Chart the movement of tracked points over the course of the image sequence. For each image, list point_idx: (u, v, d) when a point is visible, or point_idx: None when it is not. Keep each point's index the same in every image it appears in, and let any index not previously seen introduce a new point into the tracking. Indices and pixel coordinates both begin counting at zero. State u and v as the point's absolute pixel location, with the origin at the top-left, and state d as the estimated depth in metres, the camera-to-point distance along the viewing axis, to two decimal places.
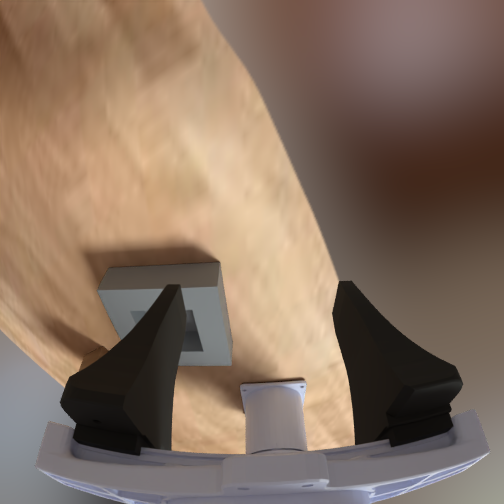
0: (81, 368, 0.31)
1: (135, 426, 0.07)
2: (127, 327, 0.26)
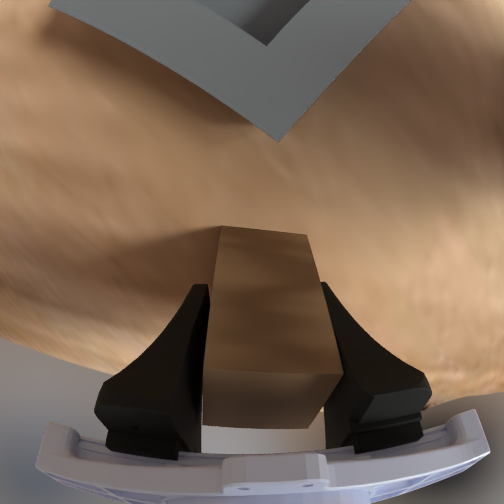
0: None
1: (176, 430, 0.07)
2: (160, 14, 0.07)
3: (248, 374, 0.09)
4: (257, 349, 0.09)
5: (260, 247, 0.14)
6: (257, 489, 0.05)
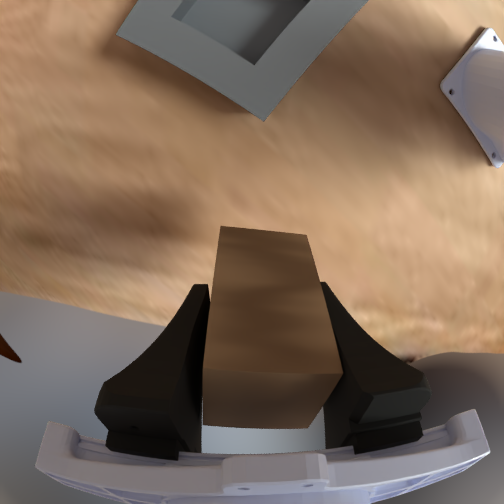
0: None
1: (176, 430, 0.07)
2: (191, 46, 0.14)
3: (248, 374, 0.09)
4: (257, 349, 0.09)
5: (260, 247, 0.14)
6: (257, 489, 0.05)
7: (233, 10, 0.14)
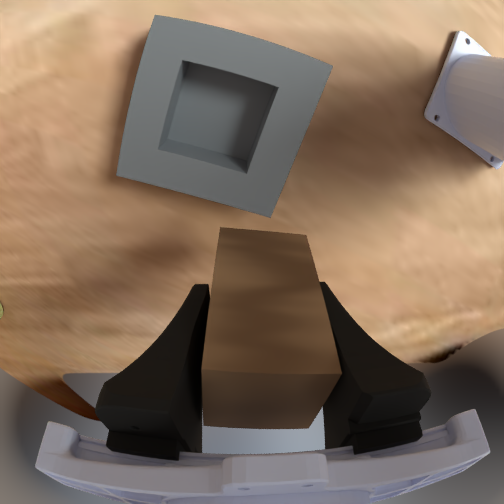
0: None
1: (177, 430, 0.07)
2: (186, 171, 0.18)
3: (246, 375, 0.09)
4: (255, 350, 0.09)
5: (259, 248, 0.14)
6: (257, 489, 0.05)
7: (210, 115, 0.18)
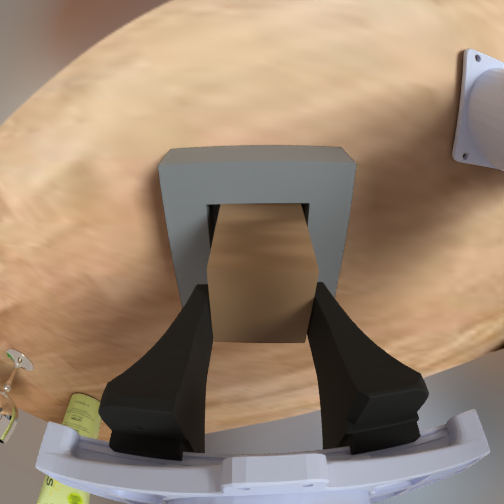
0: None
1: (181, 431, 0.07)
2: None
3: (242, 273, 0.12)
4: (249, 257, 0.12)
5: None
6: (257, 489, 0.05)
7: None
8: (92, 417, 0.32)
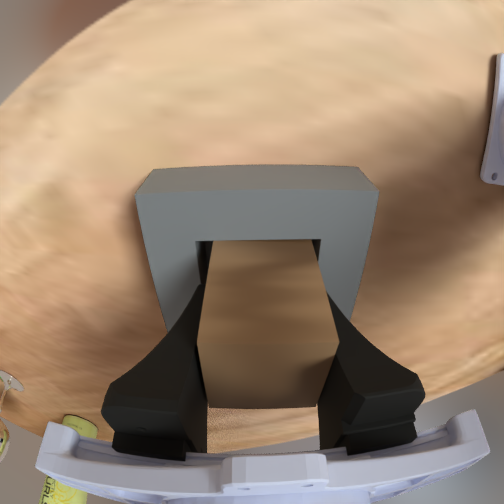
0: None
1: (184, 431, 0.07)
2: None
3: (242, 347, 0.09)
4: (251, 323, 0.10)
5: None
6: (257, 489, 0.05)
7: None
8: None
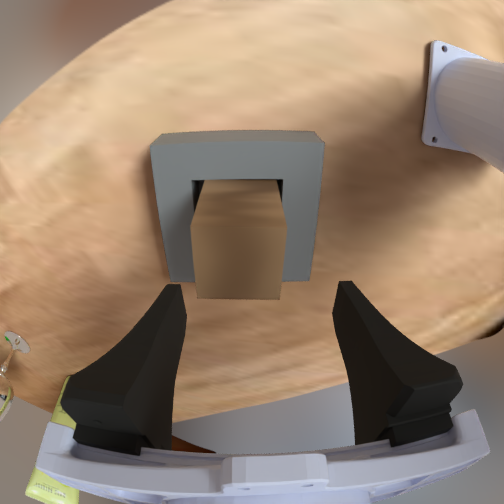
0: None
1: (135, 426, 0.07)
2: None
3: (220, 229, 0.14)
4: (227, 217, 0.14)
5: None
6: (257, 489, 0.05)
7: None
8: None
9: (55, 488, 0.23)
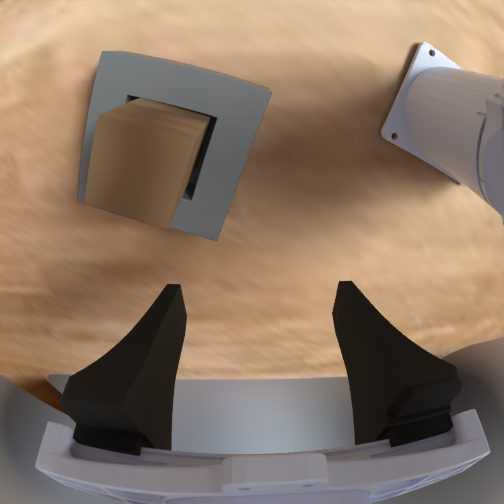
0: None
1: (135, 426, 0.07)
2: None
3: (125, 126, 0.11)
4: (139, 119, 0.12)
5: None
6: (257, 489, 0.05)
7: None
8: None
9: None
